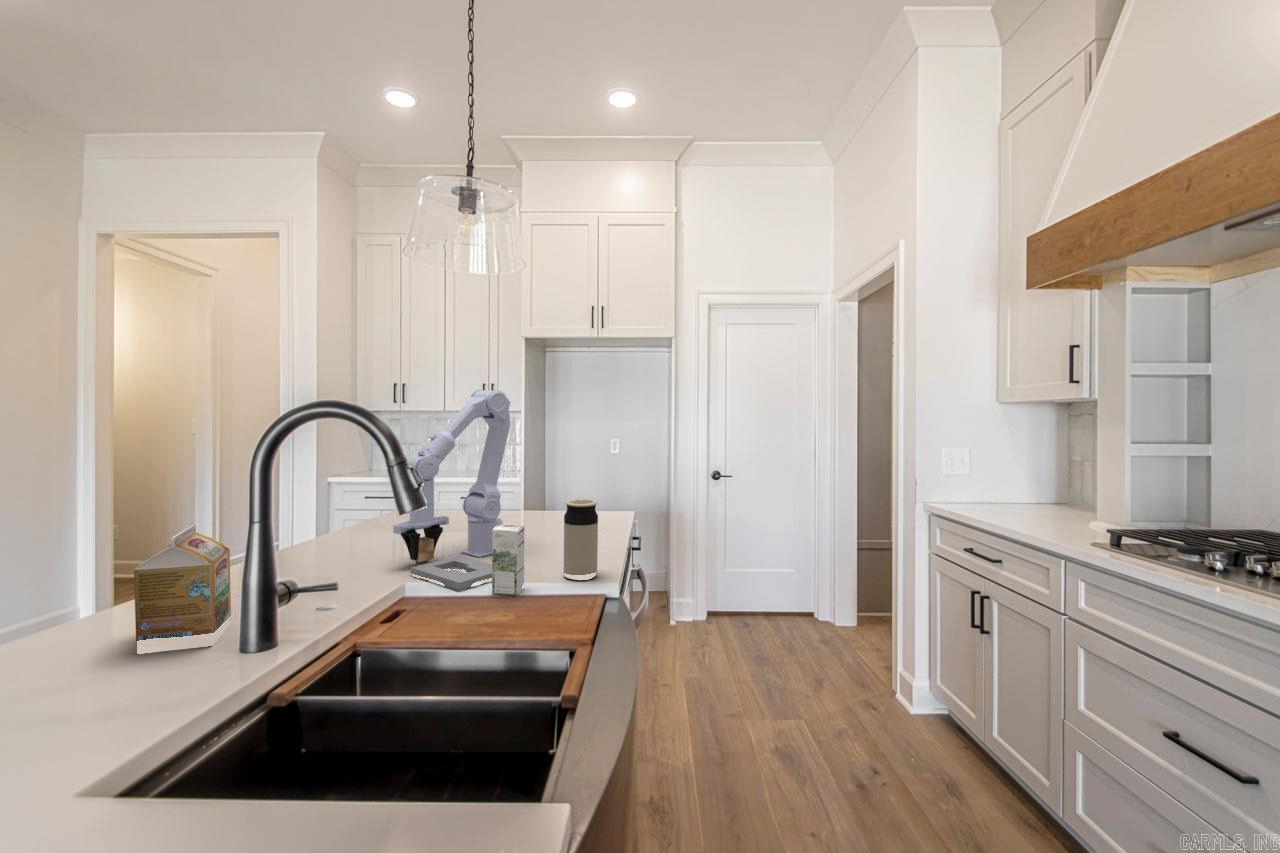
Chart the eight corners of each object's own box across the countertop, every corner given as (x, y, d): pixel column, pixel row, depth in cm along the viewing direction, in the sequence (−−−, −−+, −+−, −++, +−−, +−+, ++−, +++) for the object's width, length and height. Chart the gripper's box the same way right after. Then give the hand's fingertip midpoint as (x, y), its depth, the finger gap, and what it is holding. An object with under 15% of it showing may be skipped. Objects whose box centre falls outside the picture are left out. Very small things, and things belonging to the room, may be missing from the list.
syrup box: (525, 587, 135) (525, 523, 134) (517, 596, 129) (517, 529, 128) (500, 586, 135) (500, 522, 135) (491, 595, 130) (491, 528, 129)
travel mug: (601, 579, 142) (602, 503, 141) (568, 583, 139) (569, 505, 138) (591, 570, 149) (592, 498, 148) (560, 573, 146) (560, 499, 145)
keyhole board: (460, 563, 153) (460, 555, 153) (508, 576, 143) (508, 568, 142) (410, 575, 142) (410, 567, 142) (458, 591, 131) (458, 582, 131)
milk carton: (161, 630, 108) (159, 526, 107) (231, 624, 111) (229, 522, 110) (136, 655, 98) (133, 539, 97) (213, 646, 102) (210, 535, 101)
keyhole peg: (424, 561, 154) (424, 536, 154) (433, 564, 152) (433, 539, 151) (410, 565, 151) (410, 539, 150) (419, 568, 148) (419, 542, 148)
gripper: (437, 497, 158) (437, 548, 159) (385, 505, 147) (386, 560, 147) (453, 501, 154) (453, 553, 155) (402, 509, 143) (402, 565, 143)
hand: (422, 557), depth 151 cm, fingers closed on keyhole peg, 4 cm apart
